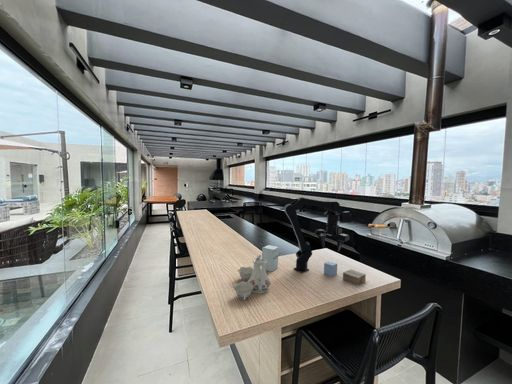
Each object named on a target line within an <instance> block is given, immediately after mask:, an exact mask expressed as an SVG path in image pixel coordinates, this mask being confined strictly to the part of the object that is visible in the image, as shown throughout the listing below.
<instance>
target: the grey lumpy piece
mask: <svg viewBox="0 0 512 384" xmlns="http://www.w3.org/2000/svg"><path fill="white" fill-rule="evenodd" d="M252 262H253V267H252V266H247V267H245V266H241V267H240V268H239V269H237V272H238V273H239V276H240V277H241V279H242V281H239V282H237V283H236V282H235V283H234V284H233V289H234V291H235V294H236V296H237V297H239V300H241V301H244V302H245V301H246V300H247V299H248V297H249V296H250V295H251V294H252V293H253V294H264V293H266V292H267V291H268V290H269V287H270V286H271V280H270V278H269V277H268V273H267V270H266V269H265V265H266V262H267V260H265V259H263V258H262V254H258V255H257V257H256V258H254V259H252Z"/></svg>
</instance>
